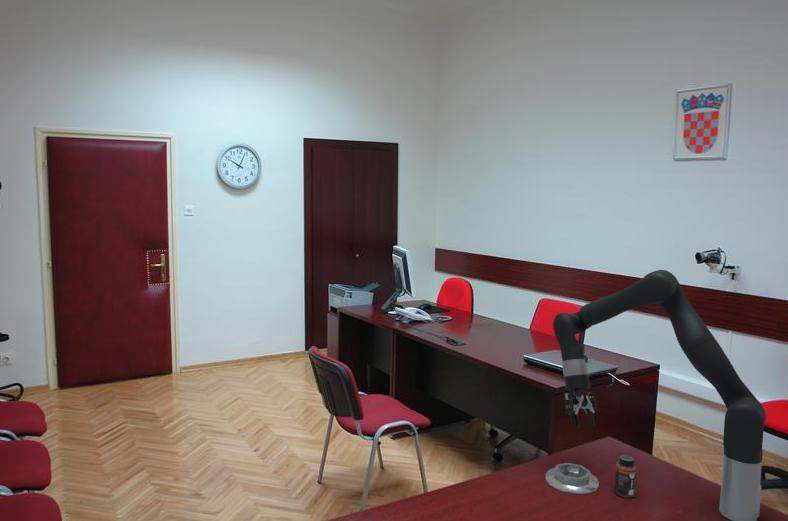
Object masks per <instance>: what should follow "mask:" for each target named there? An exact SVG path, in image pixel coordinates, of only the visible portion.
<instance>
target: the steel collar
mask: <svg viewBox="0 0 788 521" xmlns="http://www.w3.org/2000/svg"><path fill="white" fill-rule="evenodd" d="M545 482H546V483H547V484H548V485H549V486H550V487H551V488H553V489H556V490H557V491H560V492H563V493H566V494H567V493H568V494H571V495H572V494H573V495H588V494H593V493H595V492H596V491H597V490H598V489H599V487H600V482H599V479H598V477H597V476H595V475H594V474H592V473H591V471H590V470H589V469H588V468H586V467H584V466H583V465H581V464H576V463H572V462H571V463H570V462H564V463H558V464H555V467H553V468H550V469H548V470H547V471H546V472H545Z"/></svg>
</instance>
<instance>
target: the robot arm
mask: <svg viewBox="0 0 788 521" xmlns="http://www.w3.org/2000/svg"><path fill="white" fill-rule="evenodd" d="M656 303H658V304H659V306H660V307H661V308H662V309H663V311H664V312H665V314H666V315H667V317H668V319H669V321H670V323H671V326H672V329H673V332H674V334H675V337H676V340H677V342H678V345H679V346H680V348H681V351H682V352H683V353H684V355H685V356H686V358H687V360H689V362H690V364H691V365H692V366H693V368H694V369H695V370H696V371H697V372H698V373H699V374H700V375H701V376H702V377H703V378H704V379H705V380H706V381H708V382H709V383H710V385H712V386H713V387H714V389H715V391H716V392H717V393H718V395H719V396H720V399H721V400H722V402H723V404H724V405H725V407H726V411H725V414H724V421H723V422H724V423H723V439H722V440H723V442H722V445H723V454H722V455H723V457H722V467H721V468H722V469H721V480H720V482H721V484H720V498H719V514H721V516H723V517H724V518H725V519H728V520H730V521H758V518H760V513H761V512H760V511H761V510H760V509H761V499H762V489H763V488H762V484H761V477H762V464H763V463H762V462H763V442H764V431H765V430H764V428H765V424H766V421H767V412H766V409H765V408H764V406H763V405H762V403H761V402H760V401H759V400H758V398H757V397H756V396H755V395H754V394H753V393H752V391H751V390H750V389H749V387H748V386H747V385H746V384H745V383H744V382H743V380H742V379H741V377H740V376H739V375H738V373H737V371H736V369H735V367H734V366H733V364H732V363H731V361H730V360H729V358H728V355H726V353H725V352H724V350H723V348H722V346H721V345H720V343H719V342H718V341H717V339H716V338H715V336H714V334H713V333H712V332H711V331H710V330H709V328H708V327H707V325H706V324H705V322H704V321H703V319H702V318H701V317H700V315H699V313H697V312H696V310H695V309H694V307H693V306H692V304H691V303H690V301H689V298H687V295H686V294H685V292H684V290H683V288H682V286H681V284H680V282H679V280H678V279H677V277H676V276H675V275H674V274H673V273H672V272H670V271H668V270H666V269H665V270H664V269H657V270H654V271H651V272H649V273H646V274H645V275H644V276H643V277H642V278H641V279H639V280H638V281H635V282H634V283H633V284H632V285H630V286H627V287H626V288H624V289H622V290H619V291H616V292H615V293H611V294H609V295H605V296H602V297H601V298H598V299H595V300H593V301H590V302H588V303H586V304H585V305H583V306H581V307H580V308H579V310H578V311H576V312H573V313H567V312H560V313H557V314H556V315H555V316H554V318H553V322H552V328H553V333H554V335H555V339H556V341H557V344H558V345H559V348H560V353H561V354H560V356H561V362H562V372H563V373H562V374H563V379H564V380H563V381H564V385H565V390H566V391H569V392H566V393H563V395H562V397H563V405H564V413H565V414H568V415H569V416H570V421H571V426H572V428H580V426H581V425H580V419H579V415H578V414H579V411H580V409H583V410H584V411H585V414H586V415H585V416H586V422H587V426H588V427H595V426H596V419H595V415H594V414H595V412H598V406H597V401H596V396H595V392H593V391H592V392H588V390H589V389H590V388H591V383H590V377H589V372H588V371H589V370H588V366H587V362H586V359H585V353H584V348H583V344H582V343H581V342H580V341H579V340H578V339H577V337H576V336H577V335H578V334H582V333H583V332H586V330H588V329H590V328H591V327H593V326H595V325H598V324H601V323H604V322H606V321H608V320H610V319H612V318H615V317H617V316H619V315H621V314H623V313H625V312H628V311H630V310H632V309H635V308H638V307H643V306H646V305H652V304H656Z"/></svg>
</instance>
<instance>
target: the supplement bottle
mask: <svg viewBox="0 0 788 521" xmlns="http://www.w3.org/2000/svg"><path fill="white" fill-rule="evenodd" d="M614 473H615V475H614V476H615V477H614V492H615V494H617V495H618V496H619V497H621V498H622V497H623V498H626V499H627V498H628V499H630V498H634V497H635V496H636V492H637V491H636V490H637V476H638V468H637V466H636V465H635V458H634V457H632V456H630V455H626V454H625V455H624V454H622V455H620V456H619V461H617V463H616V464H615V472H614Z"/></svg>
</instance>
